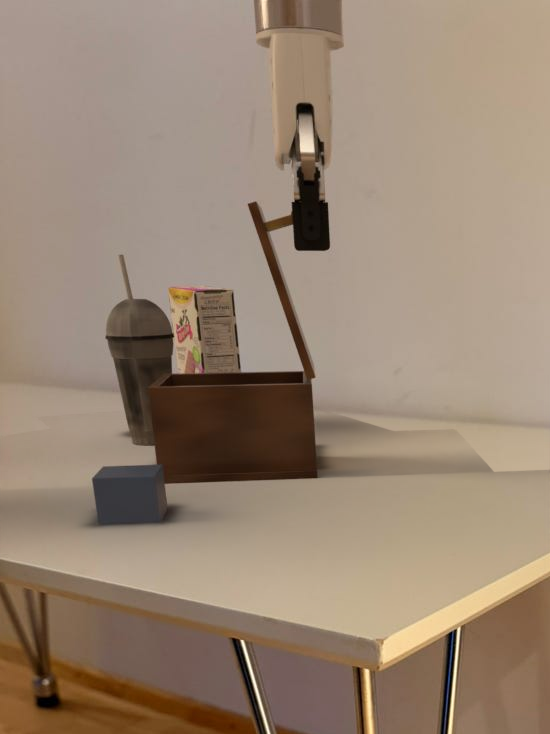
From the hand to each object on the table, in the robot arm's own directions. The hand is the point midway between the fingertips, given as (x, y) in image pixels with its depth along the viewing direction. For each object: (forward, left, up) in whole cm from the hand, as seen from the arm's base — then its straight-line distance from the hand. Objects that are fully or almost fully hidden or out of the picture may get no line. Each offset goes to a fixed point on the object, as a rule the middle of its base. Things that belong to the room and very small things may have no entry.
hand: (311, 248), depth 92 cm
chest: (-8, 0, -21) cm, 22 cm away
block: (-15, -22, -21) cm, 34 cm away
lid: (-3, 0, -4) cm, 5 cm away
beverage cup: (-19, +18, -21) cm, 33 cm away
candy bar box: (-13, +28, -21) cm, 37 cm away
